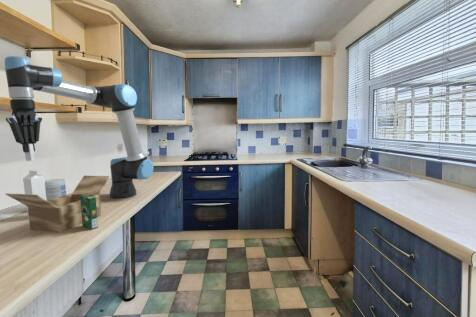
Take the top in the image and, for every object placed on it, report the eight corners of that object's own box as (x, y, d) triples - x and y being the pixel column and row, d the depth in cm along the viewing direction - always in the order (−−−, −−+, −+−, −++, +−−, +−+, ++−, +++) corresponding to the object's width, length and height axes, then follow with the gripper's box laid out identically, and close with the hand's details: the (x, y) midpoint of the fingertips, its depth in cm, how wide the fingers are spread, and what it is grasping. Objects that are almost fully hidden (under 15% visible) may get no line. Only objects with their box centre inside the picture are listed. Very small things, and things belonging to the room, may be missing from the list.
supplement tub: (68, 208, 149) (65, 180, 147) (46, 211, 144) (43, 182, 142) (67, 204, 157) (64, 177, 155) (46, 207, 152) (43, 180, 150)
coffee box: (99, 227, 118) (96, 196, 116) (92, 229, 115) (89, 198, 114) (89, 224, 123) (86, 194, 121) (82, 226, 120) (79, 195, 119)
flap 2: (72, 192, 138) (73, 193, 138) (98, 193, 134) (99, 194, 134) (83, 175, 144) (84, 176, 145) (109, 176, 140) (109, 176, 141)
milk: (35, 219, 132) (29, 172, 129) (27, 217, 135) (21, 171, 132) (48, 215, 138) (43, 170, 135) (40, 214, 140) (35, 169, 137)
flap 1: (5, 193, 108) (5, 194, 108) (37, 194, 104) (36, 195, 104) (28, 205, 117) (27, 206, 116) (57, 207, 113) (57, 208, 112)
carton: (73, 213, 139) (71, 193, 138) (101, 215, 135) (99, 194, 134) (30, 229, 118) (27, 206, 117) (61, 232, 114) (58, 207, 112)
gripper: (30, 100, 117) (38, 158, 120) (-4, 98, 104) (6, 162, 107) (45, 99, 115) (52, 158, 118) (12, 97, 102) (21, 162, 105)
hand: (30, 160), depth 113 cm, fingers closed
